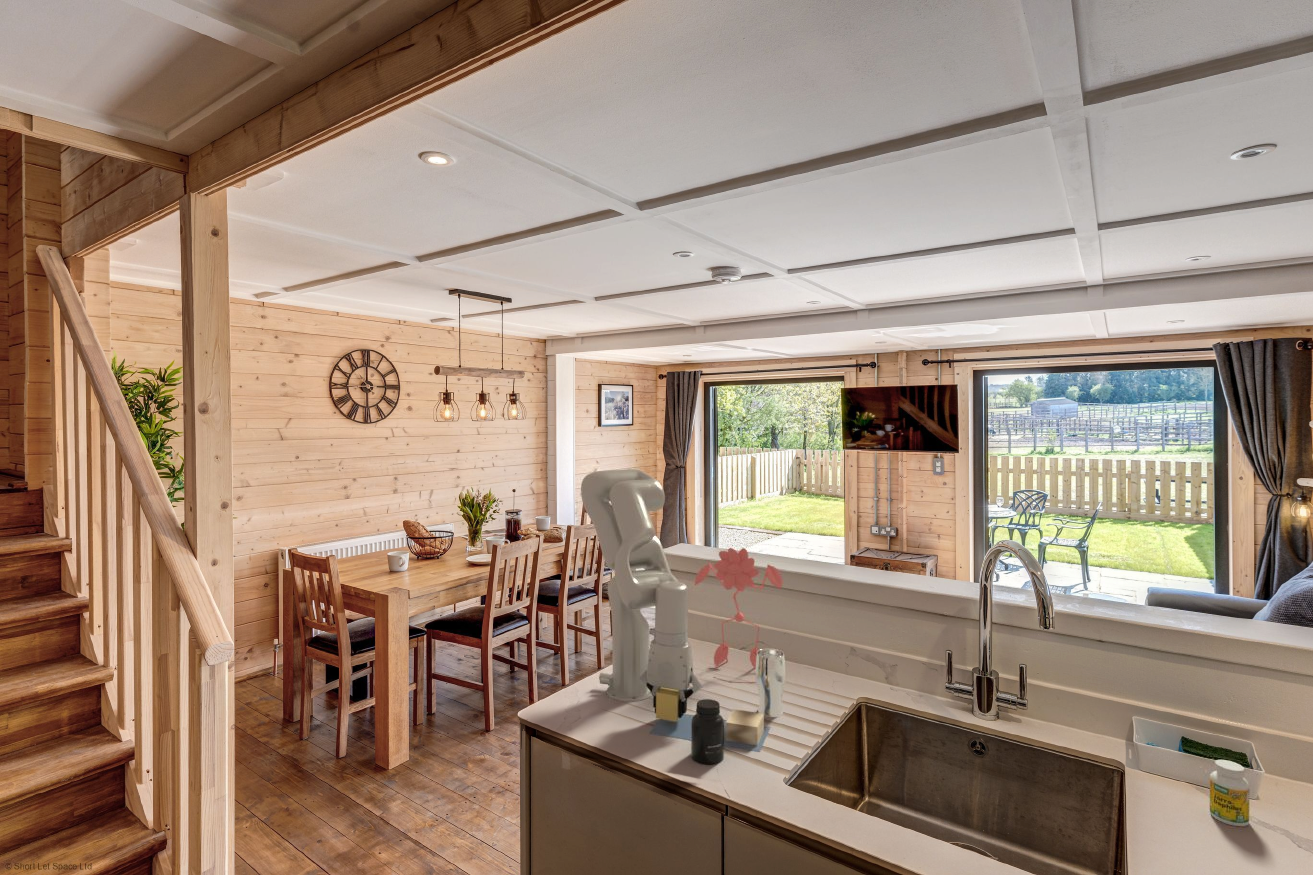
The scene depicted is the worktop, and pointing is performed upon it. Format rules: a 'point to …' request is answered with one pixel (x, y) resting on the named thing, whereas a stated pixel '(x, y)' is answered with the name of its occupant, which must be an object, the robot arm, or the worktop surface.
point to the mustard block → (667, 704)
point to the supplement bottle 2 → (1229, 793)
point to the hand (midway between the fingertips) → (669, 712)
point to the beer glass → (770, 681)
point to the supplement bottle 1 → (707, 733)
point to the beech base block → (745, 727)
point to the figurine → (738, 574)
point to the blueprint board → (683, 731)
